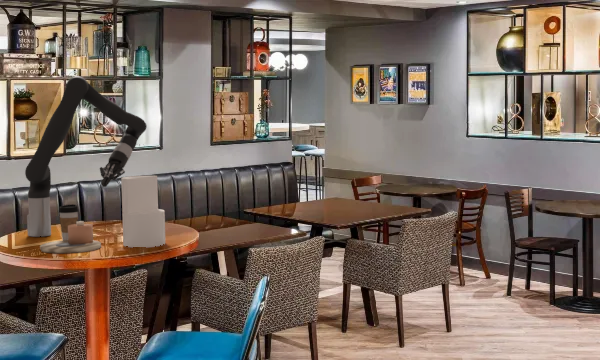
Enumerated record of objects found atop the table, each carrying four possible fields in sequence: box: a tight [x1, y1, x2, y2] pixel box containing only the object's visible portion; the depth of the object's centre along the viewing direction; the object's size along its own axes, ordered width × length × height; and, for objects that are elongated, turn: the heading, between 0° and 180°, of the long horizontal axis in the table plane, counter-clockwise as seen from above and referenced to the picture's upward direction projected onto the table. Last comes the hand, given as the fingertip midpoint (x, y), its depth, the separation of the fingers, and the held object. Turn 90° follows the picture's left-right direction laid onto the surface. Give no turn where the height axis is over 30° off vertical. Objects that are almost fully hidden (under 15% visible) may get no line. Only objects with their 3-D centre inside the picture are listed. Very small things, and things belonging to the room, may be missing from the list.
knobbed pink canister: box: [68, 220, 94, 244], centre depth 345 cm, size 10×10×9 cm
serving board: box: [39, 239, 102, 254], centre depth 340 cm, size 24×24×2 cm
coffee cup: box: [58, 204, 79, 241], centre depth 360 cm, size 8×8×15 cm
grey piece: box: [120, 175, 166, 248], centre depth 347 cm, size 17×17×28 cm
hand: (103, 185), depth 357 cm, fingers closed
